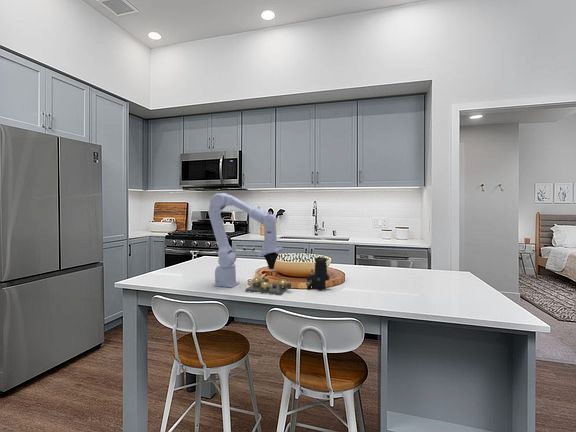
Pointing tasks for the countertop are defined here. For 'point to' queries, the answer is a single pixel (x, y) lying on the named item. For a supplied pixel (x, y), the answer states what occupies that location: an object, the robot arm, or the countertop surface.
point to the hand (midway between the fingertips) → (271, 268)
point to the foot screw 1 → (259, 281)
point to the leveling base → (271, 291)
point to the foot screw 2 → (284, 284)
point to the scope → (318, 275)
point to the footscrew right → (268, 285)
